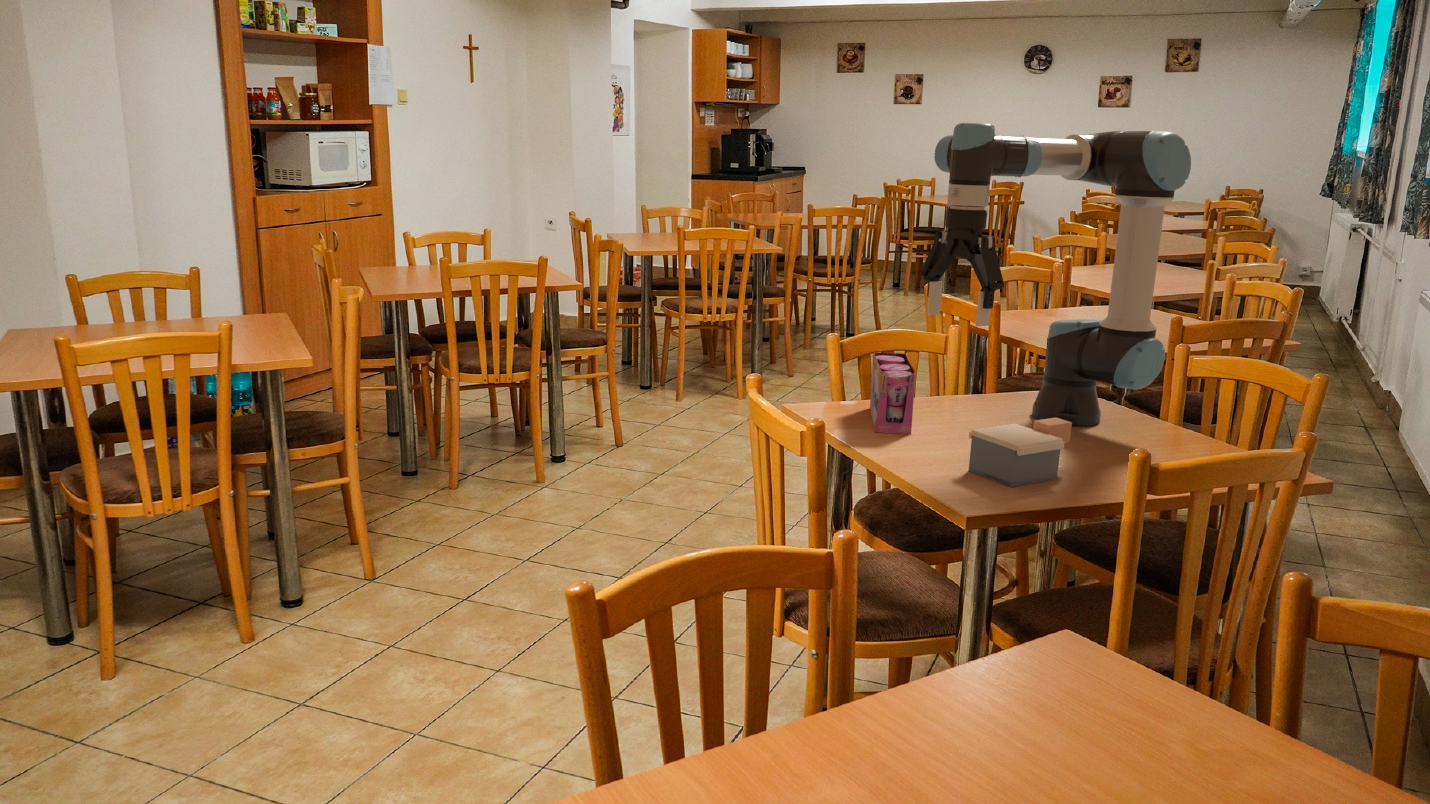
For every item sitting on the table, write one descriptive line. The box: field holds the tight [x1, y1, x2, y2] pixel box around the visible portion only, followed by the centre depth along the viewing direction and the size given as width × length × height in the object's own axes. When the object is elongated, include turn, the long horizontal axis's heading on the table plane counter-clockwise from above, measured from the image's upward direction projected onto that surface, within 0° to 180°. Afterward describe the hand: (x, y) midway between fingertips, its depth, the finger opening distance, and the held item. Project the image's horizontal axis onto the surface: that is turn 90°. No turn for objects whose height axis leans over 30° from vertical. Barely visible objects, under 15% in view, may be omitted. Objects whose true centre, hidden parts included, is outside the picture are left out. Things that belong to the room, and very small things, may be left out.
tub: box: [968, 436, 1061, 488], centre depth 200 cm, size 12×11×7 cm
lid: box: [968, 418, 1072, 456], centre depth 201 cm, size 18×13×4 cm
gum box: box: [869, 351, 916, 435], centre depth 236 cm, size 24×8×14 cm, turn 175°
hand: (957, 320), depth 203 cm, fingers open, 13 cm apart
